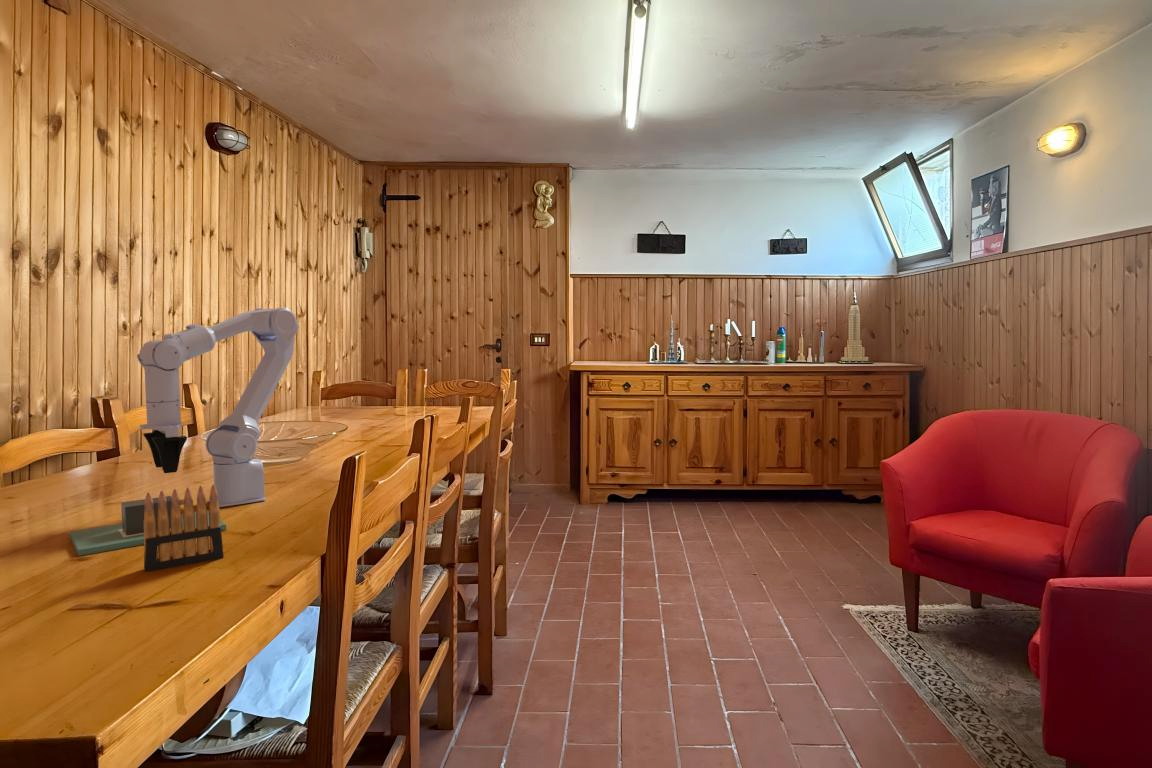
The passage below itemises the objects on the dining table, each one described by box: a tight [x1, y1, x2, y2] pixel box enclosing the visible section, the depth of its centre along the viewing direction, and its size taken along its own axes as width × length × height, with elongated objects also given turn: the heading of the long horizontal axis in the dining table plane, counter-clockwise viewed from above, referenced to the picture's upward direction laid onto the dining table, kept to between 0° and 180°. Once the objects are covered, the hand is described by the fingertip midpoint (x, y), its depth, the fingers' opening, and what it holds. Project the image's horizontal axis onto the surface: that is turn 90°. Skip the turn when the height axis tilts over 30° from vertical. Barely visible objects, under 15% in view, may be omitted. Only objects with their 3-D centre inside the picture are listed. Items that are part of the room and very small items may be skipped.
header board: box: [69, 509, 227, 557], centre depth 121 cm, size 22×14×4 cm, turn 132°
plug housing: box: [121, 495, 194, 535], centre depth 121 cm, size 11×4×5 cm, turn 132°
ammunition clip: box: [143, 484, 224, 573], centre depth 105 cm, size 11×2×12 cm, turn 127°
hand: (166, 469), depth 132 cm, fingers open, 7 cm apart
